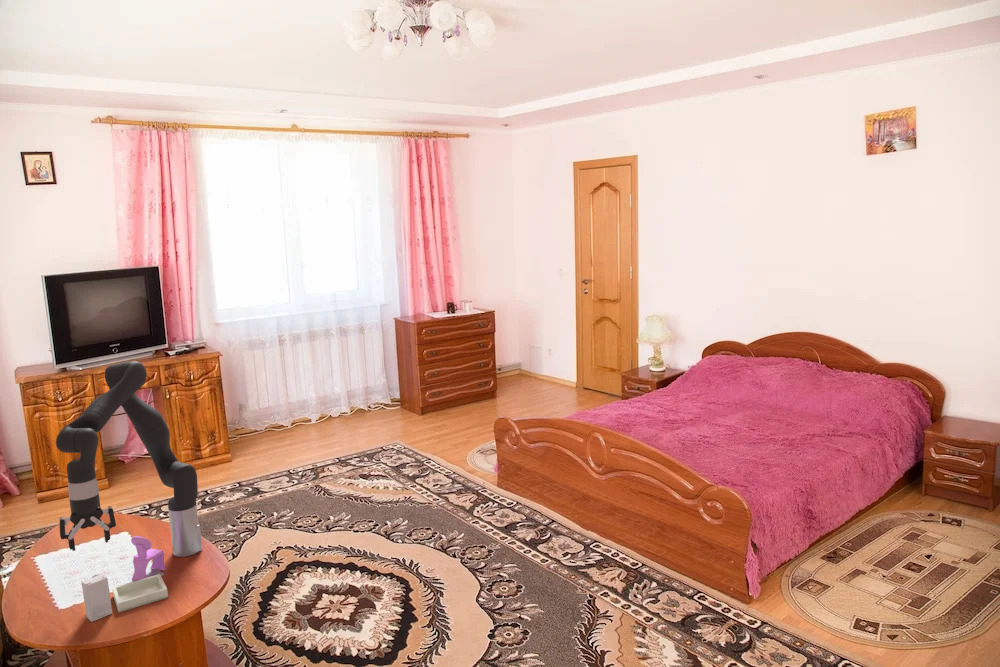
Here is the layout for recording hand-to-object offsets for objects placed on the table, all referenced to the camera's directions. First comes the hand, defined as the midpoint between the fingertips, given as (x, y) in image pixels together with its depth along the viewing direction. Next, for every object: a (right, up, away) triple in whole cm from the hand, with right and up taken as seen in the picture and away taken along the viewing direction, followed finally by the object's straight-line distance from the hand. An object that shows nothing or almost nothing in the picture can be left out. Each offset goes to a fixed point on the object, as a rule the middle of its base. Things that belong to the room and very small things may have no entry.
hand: (90, 545), depth 208 cm
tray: (+8, -21, +14) cm, 26 cm away
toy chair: (+3, -19, +29) cm, 34 cm away
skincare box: (+1, -23, +4) cm, 23 cm away
